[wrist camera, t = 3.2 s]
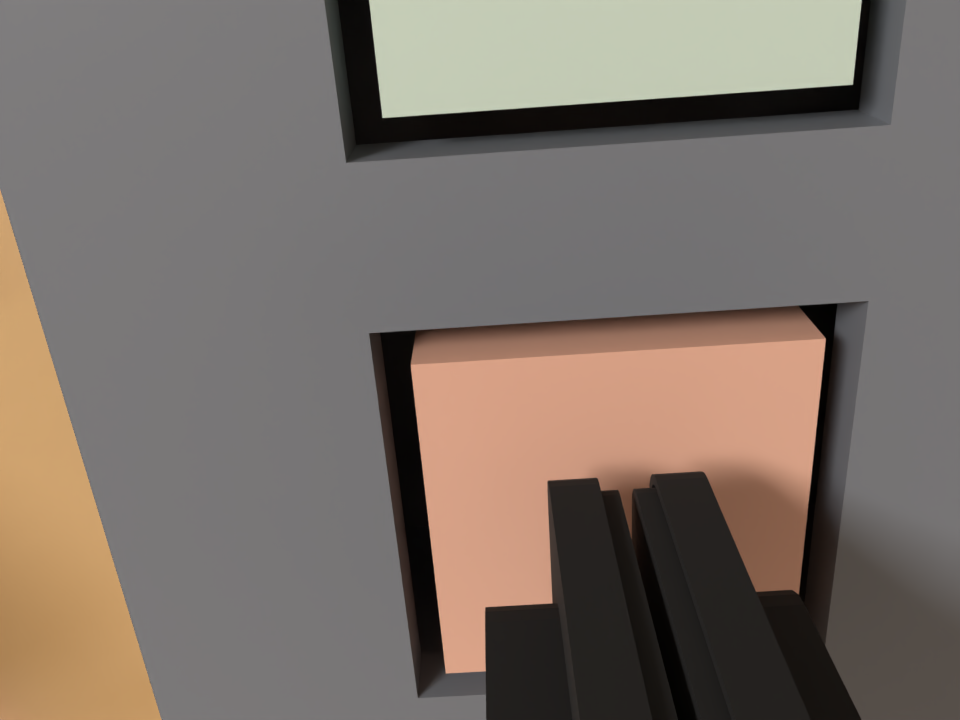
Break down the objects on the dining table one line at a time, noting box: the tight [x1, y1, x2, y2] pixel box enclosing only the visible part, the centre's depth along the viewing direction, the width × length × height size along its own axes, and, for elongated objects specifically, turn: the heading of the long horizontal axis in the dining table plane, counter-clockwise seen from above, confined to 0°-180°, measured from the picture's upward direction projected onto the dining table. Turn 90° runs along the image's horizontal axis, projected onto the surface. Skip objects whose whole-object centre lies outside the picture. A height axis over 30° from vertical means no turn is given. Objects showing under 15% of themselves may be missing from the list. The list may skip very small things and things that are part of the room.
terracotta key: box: [411, 306, 826, 673], centre depth 12 cm, size 4×4×2 cm
